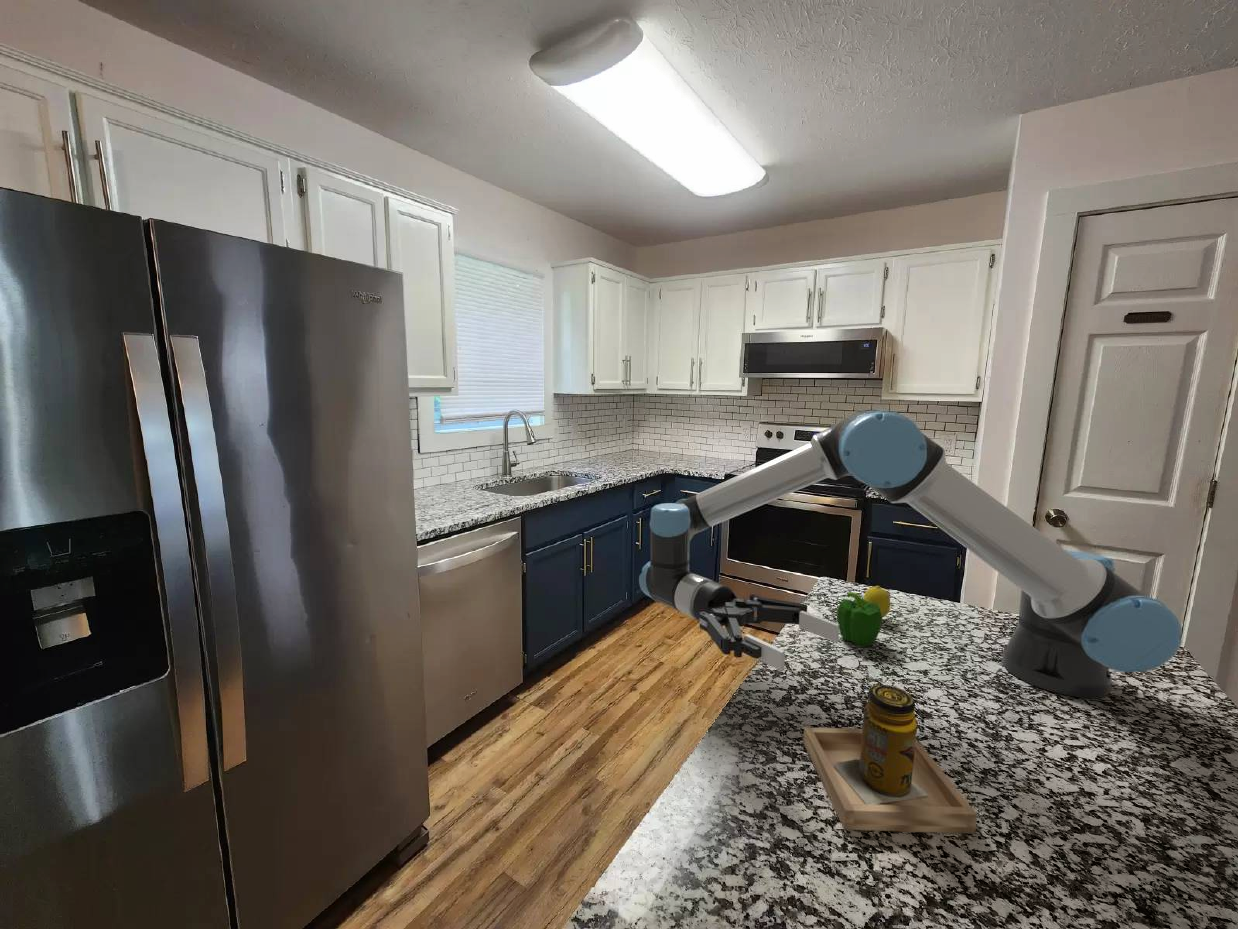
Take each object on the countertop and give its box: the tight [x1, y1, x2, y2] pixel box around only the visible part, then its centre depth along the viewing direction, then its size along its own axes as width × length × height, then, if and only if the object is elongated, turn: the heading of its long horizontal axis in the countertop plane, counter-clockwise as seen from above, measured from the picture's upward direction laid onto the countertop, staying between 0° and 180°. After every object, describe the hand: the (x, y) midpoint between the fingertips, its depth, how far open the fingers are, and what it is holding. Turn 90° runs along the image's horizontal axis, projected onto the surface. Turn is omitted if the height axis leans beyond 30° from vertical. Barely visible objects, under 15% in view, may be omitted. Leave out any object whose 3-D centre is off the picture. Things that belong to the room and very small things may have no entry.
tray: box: [802, 726, 978, 835], centre depth 67 cm, size 15×15×2 cm
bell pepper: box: [836, 591, 883, 647], centre depth 106 cm, size 8×8×10 cm
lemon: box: [862, 585, 891, 619], centre depth 116 cm, size 6×6×8 cm
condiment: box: [833, 684, 927, 805], centre depth 66 cm, size 7×8×12 cm
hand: (812, 646), depth 75 cm, fingers open, 13 cm apart
